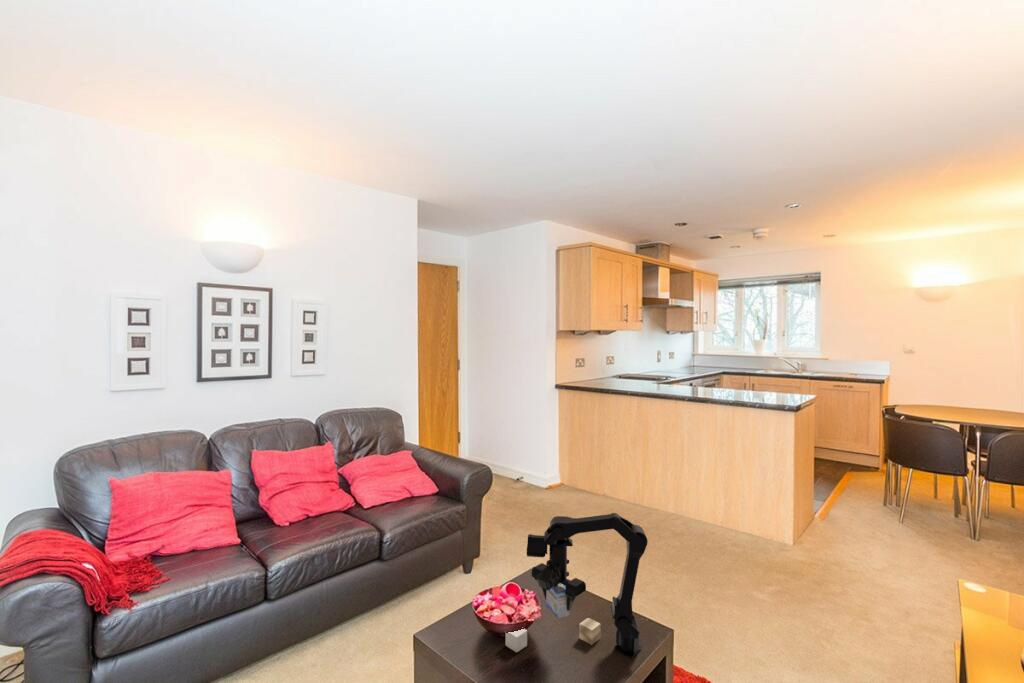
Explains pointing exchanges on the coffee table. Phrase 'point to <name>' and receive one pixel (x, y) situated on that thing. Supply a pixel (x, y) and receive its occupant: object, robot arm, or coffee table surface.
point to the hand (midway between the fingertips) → (557, 604)
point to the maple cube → (589, 631)
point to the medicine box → (557, 601)
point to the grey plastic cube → (516, 640)
